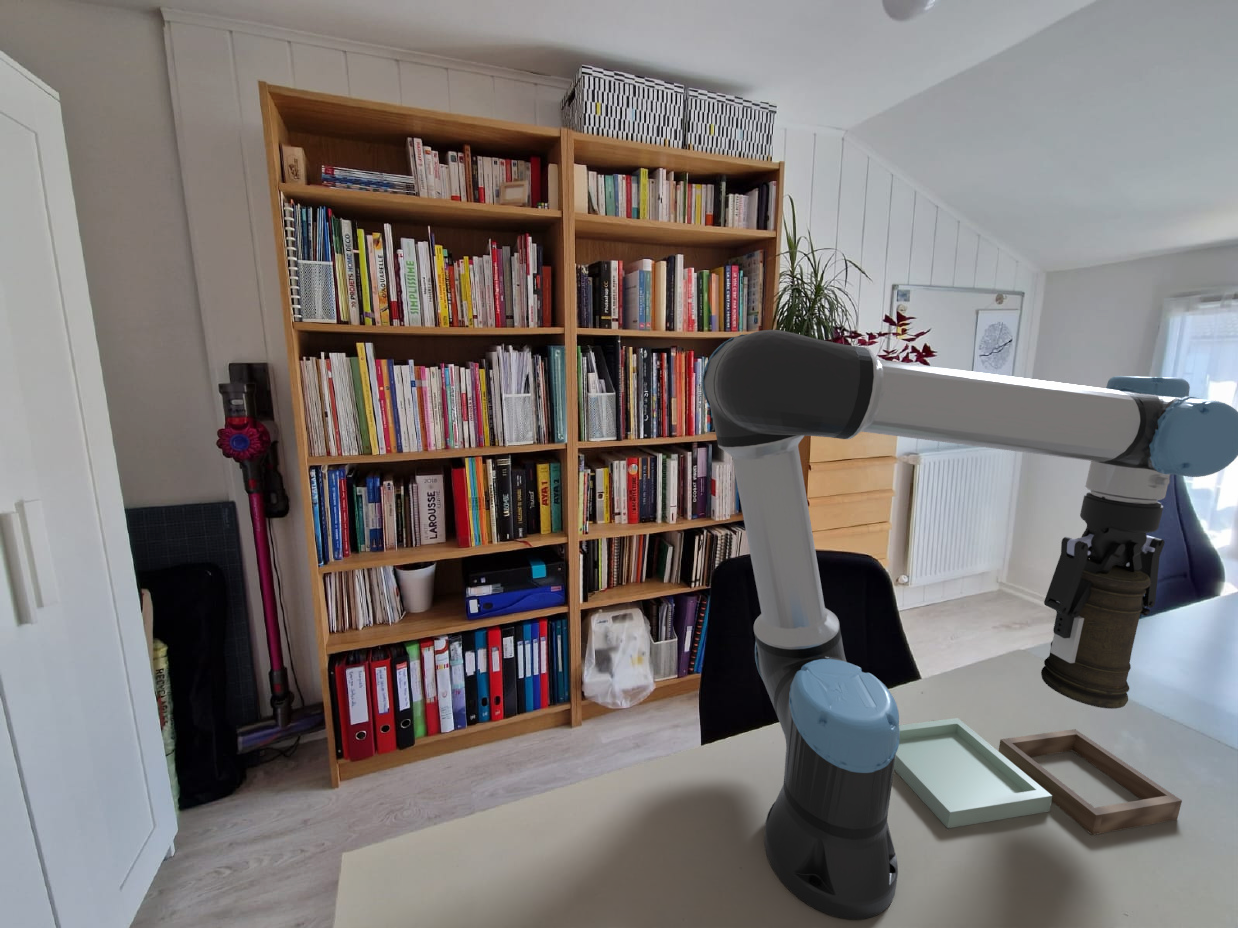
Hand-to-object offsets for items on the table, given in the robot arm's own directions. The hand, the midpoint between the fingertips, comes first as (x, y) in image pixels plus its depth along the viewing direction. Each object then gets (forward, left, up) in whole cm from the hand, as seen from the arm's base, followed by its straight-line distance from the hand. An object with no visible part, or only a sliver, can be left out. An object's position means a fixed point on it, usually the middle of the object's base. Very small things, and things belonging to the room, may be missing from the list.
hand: (1088, 655), depth 72 cm
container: (0, 0, -5) cm, 5 cm away
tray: (-15, +4, -21) cm, 26 cm away
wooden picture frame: (+2, -1, -21) cm, 21 cm away
